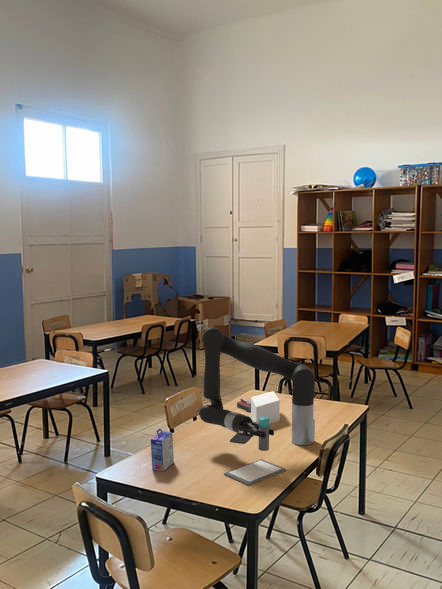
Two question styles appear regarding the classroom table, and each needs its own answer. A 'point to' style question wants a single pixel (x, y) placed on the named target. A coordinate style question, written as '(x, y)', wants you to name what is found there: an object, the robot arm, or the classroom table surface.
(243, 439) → the phone
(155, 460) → the ink cartridge box
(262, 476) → the mat
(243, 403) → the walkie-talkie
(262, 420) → the marker
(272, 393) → the white box
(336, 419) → the classroom table surface
